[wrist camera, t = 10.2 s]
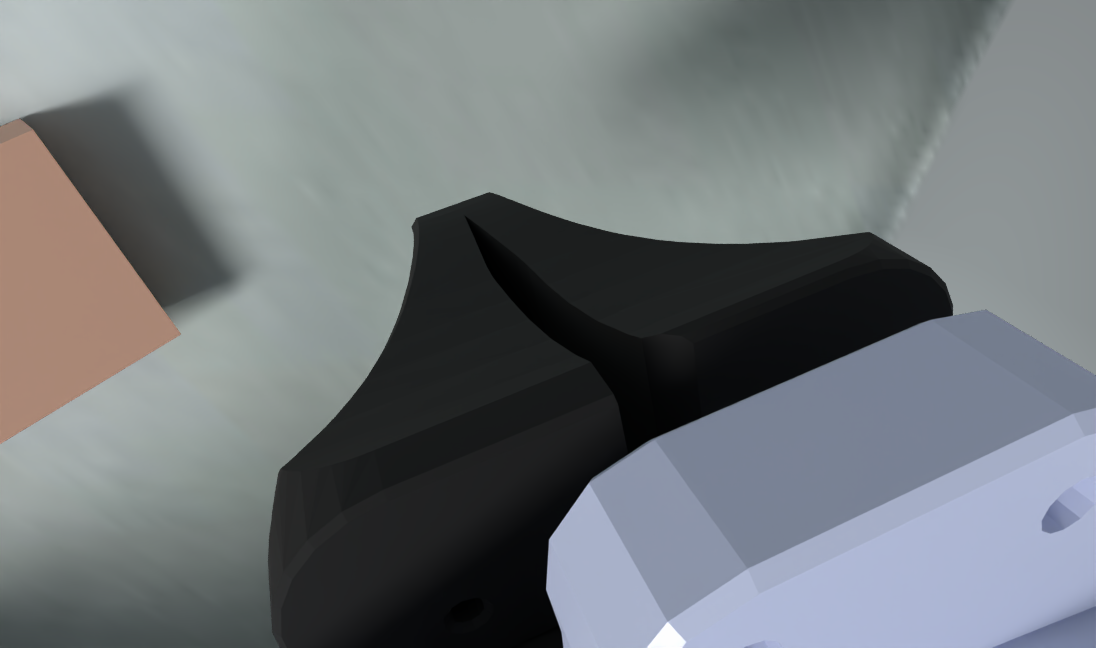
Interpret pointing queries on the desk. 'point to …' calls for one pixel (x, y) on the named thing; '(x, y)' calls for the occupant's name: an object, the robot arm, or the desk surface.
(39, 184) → the domino
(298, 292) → the desk surface
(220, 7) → the desk surface
